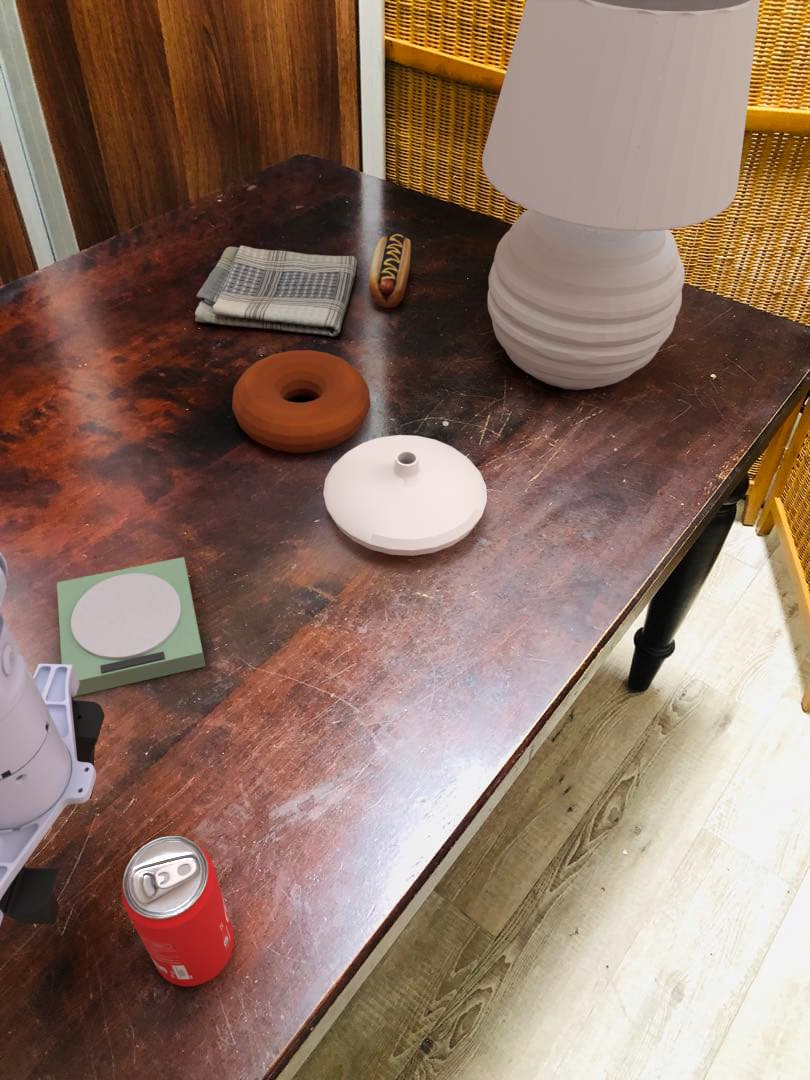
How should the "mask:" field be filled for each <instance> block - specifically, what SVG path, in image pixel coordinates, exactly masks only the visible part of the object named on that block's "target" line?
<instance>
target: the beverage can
mask: <svg viewBox="0 0 810 1080" xmlns="http://www.w3.org/2000/svg"><path fill="white" fill-rule="evenodd" d="M120 888H121V889H120V890H121V893H120V894H121V900H122V904H123V907H124V909H125V911H126V913H127V915H128V917H129V919H130V921H131V922H132V924H133V926H134V928H135V930H136V933H137V934H138V936H139V938H140V940H141V941H142V943H143V945H144V947H145V949H146V951H147V953H148V954H149V956H150V959H151V960H152V962H153V964H154V966H155V967H156V970H157V971H158V973H159V974H160V975H161V976H162V977H163V979H165V980H166V981H167V982H169V983H171V984H174V985H175V986H180V987H194V986H195V987H196V986H199V985H202V984H205V983H207V982H209V981H210V980H213V978H215V977H216V976H217V975H218V974H219V973H220V972H221V971H222V970H223V969H224V968H225V966H226V965H227V963H228V961H229V960H230V957H231V955H232V953H233V948H234V943H235V934H234V928H233V925H232V922H231V918H230V915H229V912H228V908H227V905H226V902H225V899H224V896H223V892H222V889H221V887H220V883H219V879H218V876H217V873H216V869H215V867H214V864H213V861H212V859H211V856H210V855H209V854H208V852H207V851H206V850H205V849H204V848H203V847H202V846H201V845H199V844H198V843H196V842H194V841H192V839H189V838H186V837H184V836H182V835H181V836H180V835H167V836H162V837H159V838H156V839H153V840H151V841H149V842H148V843H146V844H144V845H143V846H142V847H140V848H139V849H138V850H137V851H136V852H135V853H134V854H133V856H132V857H131V858H130V860H129V861H128V863H127V865H126V868H125V870H124V873H123V878H122V881H121V887H120Z"/></svg>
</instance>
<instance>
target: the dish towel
mask: <svg viewBox="0 0 810 1080" xmlns="http://www.w3.org/2000/svg"><path fill="white" fill-rule="evenodd" d="M357 269H358V260H357V258H356V257H355V256H353V255H326V254H325V255H323V254H321V255H320V254H307V253H301V252H295V251H288V250H274V249H273V250H271V249H261V248H253V247H251V246H246V245H240V246H239V247H236V246H228V247H226V248H225V249H224V251H223V253H222V255H221V256H220V259H219V260H218V261H217V264H216V265H215V267H214V268H213V270H212V271H211V272H210V273H209V275H208V277H207V279H206V280H205V281H204V283H203V284H202V286H201V287H200V289H199V290H198V292H197V294H196V298H197V299H200V302H199V303H198V306H197V307H196V309H195V312H194V316H195V319H194V321H195V322H196V323H205V324H213V325H219V326H220V325H221V326H232V327H240V328H255V329H265V330H266V329H267V330H278V331H284V332H288V333H299V334H300V333H301V334H307V335H319V336H327V337H332V338H333V337H336V336H338V335H339V334H340V333H341V328H342V325H343V320H344V318H345V315H346V312H347V309H348V306H349V302H350V298H351V293H352V291H353V286H354V283H355V278H356V274H357Z"/></svg>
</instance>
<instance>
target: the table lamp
mask: <svg viewBox="0 0 810 1080" xmlns="http://www.w3.org/2000/svg"><path fill="white" fill-rule="evenodd" d="M760 3H761V0H526V1H525V5H524V8H523V12H522V16H521V18H520V22H519V26H518V29H517V33H516V35H515V39H514V44H513V47H512V50H511V54H510V57H509V61H508V65H507V68H506V72H505V74H504V79H503V82H502V86H501V89H500V92H499V95H498V100H497V103H496V107H495V110H494V114H493V117H492V121H491V124H490V128H489V131H488V135H487V138H486V141H485V146H484V149H483V153H482V156H481V163H482V171H483V173H484V175H485V177H486V180H487V181H488V182H489V183H490V184H491V185H492V186H493V188H494V189H495V190H496V191H498V192H499V193H500V194H502V195H503V196H504V197H505V198H507V199H508V200H510V201H512V202H514V203H515V204H516V205H519V206H520V207H522V208H524V209H527V210H525V211H524V212H522V214H520V215H519V216H518V217H517V218H516V220H515V221H514V222H513V224H512V225H511V227H510V228H509V230H508V231H507V232H506V233H505V234H504V235H503V236H502V238H501V239H500V240H499V242H498V243H497V245H496V249H495V253H494V257H493V262H492V265H491V268H490V270H489V275H488V290H487V310H488V314H489V316H490V318H491V323H492V328H493V332H494V335H495V338H496V340H497V341H498V343H499V344H500V345H501V347H502V348H503V349H504V350H505V353H506V354H507V356H508V357H509V359H510V360H511V361H512V362H513V363H514V364H515V365H516V366H517V367H518V368H519V369H521V370H522V371H523V372H525V373H527V374H529V375H530V376H532V377H533V378H534V379H537V380H538V381H541V382H543V383H545V384H547V385H550V386H554V387H557V388H559V389H560V388H561V389H564V390H576V391H577V390H578V391H581V390H592V389H595V388H602V387H606V386H610V385H614V384H618V383H619V382H621V381H623V380H625V379H627V378H629V377H630V376H631V375H633V374H634V373H635V372H637V371H638V370H640V369H642V368H644V367H645V366H646V365H647V364H649V363H650V362H651V361H652V360H653V358H654V357H655V356H656V355H657V353H658V351H659V350H660V348H661V347H662V346H663V344H664V343H665V342H666V341H667V340H668V338H669V337H670V335H671V334H672V333H673V330H674V327H675V324H676V320H677V316H678V314H679V312H680V310H681V306H682V302H683V301H682V300H683V287H684V284H685V277H686V276H685V271H686V269H685V266H684V264H683V261H682V258H681V255H680V254H679V253H680V252H679V247H678V245H677V242H676V239H675V236H674V235H673V234H672V232H671V230H676V229H682V228H683V229H684V228H686V227H690V226H695V225H697V224H701V223H704V222H706V221H708V220H710V219H713V218H715V217H717V216H719V215H720V214H721V213H723V212H724V211H725V210H727V209H728V208H729V206H731V204H732V203H733V202H734V201H735V198H736V196H737V195H736V194H737V192H738V189H739V181H740V172H741V164H742V155H743V146H744V139H745V129H746V122H747V120H746V119H747V112H748V105H749V104H748V103H749V96H750V88H751V78H752V72H753V71H752V70H753V63H754V54H755V45H756V37H757V30H758V21H759V20H758V19H759V13H760Z"/></svg>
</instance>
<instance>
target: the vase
mask: <svg viewBox="0 0 810 1080" xmlns="http://www.w3.org/2000/svg"><path fill="white" fill-rule="evenodd" d="M487 491H488V489H487V485H486V482H485V480H484V478H483V475H482V473H481V471H480V470H479V469H478V467H476V465H475V464H474V463H473V462H472V460H470V458H469V457H467V456H466V455H465V454H463V453H462V452H460V451H458V450H457V449H456V448H455V447H453V446H451V445H449V444H446V443H444V442H443V441H439V440H437V439H434V438H429V437H425V436H420V435H409V434H408V435H405V434H396V435H395V434H394V435H388V436H381V437H376V438H373V439H370V440H368V441H365V442H362V443H361V444H358V445H357V446H355V447H353V448H351V449H350V450H347V452H345V453H344V454H343V455H342V456H341V457H340V458H339V459H338V460H336V462H335V463H333V465H332V466H331V468H330V470H329V471H328V473H327V475H326V477H325V479H324V486H323V498H324V502H325V507H326V510H327V512H328V514H329V515H330V517H331V519H332V520H333V522H334V523H335V524H336V526H337V528H338V529H339V531H340V532H342V533H343V534H345V536H347V537H348V538H349V539H350V540H352V541H353V542H355V543H356V544H359V545H361V546H363V547H365V548H367V549H369V550H371V551H375V552H379V553H383V554H387V555H390V556H391V555H392V556H412V557H413V556H419V555H427V554H432V553H433V554H434V553H436V552H439V551H441V550H444V549H447V548H449V547H452V546H454V545H456V544H457V543H458V542H460V541H461V540H462V539H464V538H466V537H467V536H468V535H469V534H470V533H471V531H472V530H474V528H475V526H476V525H477V524H478V522H479V521H480V520H481V518H482V517H483V514H484V511H485V509H486V505H487V503H488V495H487V494H488V493H487Z"/></svg>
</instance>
